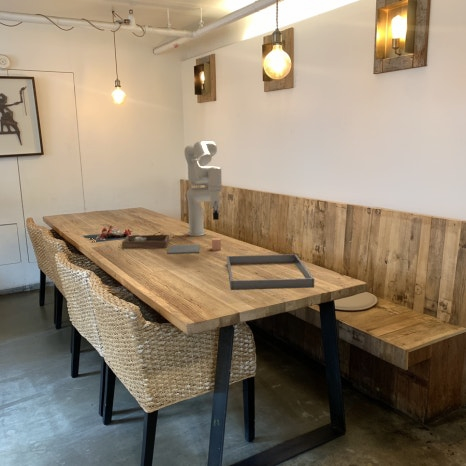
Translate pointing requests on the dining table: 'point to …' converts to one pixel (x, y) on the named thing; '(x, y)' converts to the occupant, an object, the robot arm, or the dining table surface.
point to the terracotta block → (216, 243)
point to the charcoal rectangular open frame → (269, 283)
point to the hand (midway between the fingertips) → (215, 218)
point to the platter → (110, 235)
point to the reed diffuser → (144, 238)
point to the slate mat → (183, 249)
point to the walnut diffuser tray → (146, 242)
